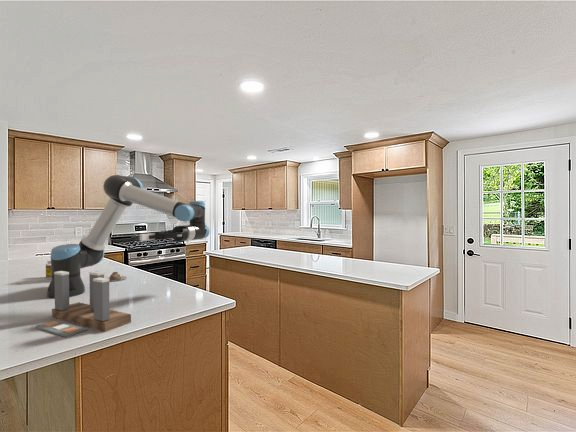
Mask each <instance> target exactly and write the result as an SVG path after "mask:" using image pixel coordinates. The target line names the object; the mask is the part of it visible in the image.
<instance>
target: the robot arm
mask: <svg viewBox="0 0 576 432" xmlns="http://www.w3.org/2000/svg"><path fill="white" fill-rule="evenodd" d="M102 188H103V191H104V193H105V194H106V195H107V196H108V197H109V200H108V202H107V203H106V205H105V207H104V208H103V209H102V211H101V213H100V215H99V216H98V218H97V220H96V221H95V222H94V225H93V226H92V228H91V230H90V231H89V233H88V234H87V236H86V237H85V236H84V237H82V238H81V240H80V241H79V243H67V244H61V245H56V246H55V247H52V249H51V250H50V260H51V278H50V279H51V280H50V282H49V286H48V287H47V291H46V296H47V297H49V298H54V299H55V286H54V272H57V271H65V272H69V297H73V296H78V295H81V294H84V293H85V292H86V289H85V285H84V282H83V279H82V276H81V269H83V268H89V267H93V266H95V265H97V264H99V263H100V262H102V261H103V259H104V257H105V248H106V247H105V243H106V241H107V240H108V238H109V236H110V234H112V231H113V229H114V228H115V226H116V225H117V223H118V222H119V220H120V218H121V216H122V215H123V213H124V212H125V211H126V208H129V207H131V206H132V205H133V203H134V204H137V205H139V206H142V207H145V208H148V209H151V210H153V211H156V212H160V213H162V214H165V215H168V216H171V217H174V218H175V219H177V220H178V221H180V222H186V223H187V222H189V224H186V225H175V226H174V227H173V228H172V229H168V230H164V231H163V230H161V231H154V232H149V233H141V234H139V241H140V242H145V241H151V242H154V241H155V240H160V241H162V240H173V241H175V242H177V243H181V242H186V243H189V242H190V241H195V240H202V239H206V238H207V237H209V235H210V227H209V226H208V224H206V204H205V201H204V200H191V201H189V204H187V203H185V202H182V201H179V200H176V199H172V198H170V197H167V196H165V195H161V194H159V193H155V192H152V191H150V190H148V189H147V190H146V189H144V186H143V184H142V182H141V180H140V179H138V178H136V177H133V176H127V175H126V176H125V175H120V174H113V175H110V176H108V177H107V178H106V179H105V180H104V181H103V187H102Z"/></svg>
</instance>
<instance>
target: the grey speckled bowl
mask: <svg viewBox="0 0 576 432" xmlns="http://www.w3.org/2000/svg"><path fill="white" fill-rule="evenodd" d="M106 278H107V279H109V281H111V282H120V281H123V280H126V279H127V278H128V277H127V276H126V275H120V273H118V271H113V272H112V273H111V274H110V276H107V277H106Z"/></svg>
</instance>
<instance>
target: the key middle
mask: <svg viewBox="0 0 576 432" xmlns="http://www.w3.org/2000/svg"><path fill="white" fill-rule="evenodd" d="M88 274H89V305H90V309H92V310H94V302H93V279H94V278H99V277H101V278H105V272H104V271H98V270H94V271H89V272H88Z"/></svg>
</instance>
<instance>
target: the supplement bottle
mask: <svg viewBox="0 0 576 432" xmlns="http://www.w3.org/2000/svg"><path fill="white" fill-rule="evenodd" d="M46 261H47V262H46V263H45V278H46V279H51V259H48V260H46Z"/></svg>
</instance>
